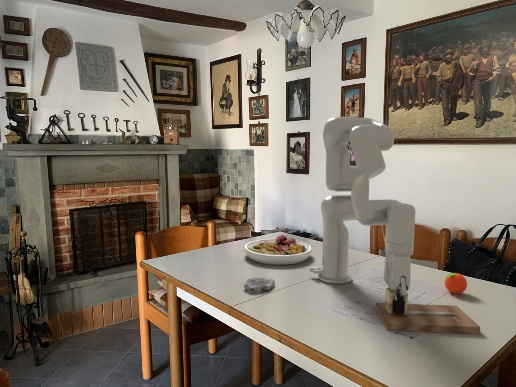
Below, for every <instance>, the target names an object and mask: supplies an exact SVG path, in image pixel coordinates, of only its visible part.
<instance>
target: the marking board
mask: <svg viewBox="0 0 516 387" xmlns="http://www.w3.org/2000/svg"><path fill="white" fill-rule="evenodd" d="M375 311H376V313H377V314H378V316H379V318H380V320H381V321H382V323H383V325H384V327H385V329H386V330H387V331H389V332H390V331H395V332H397V331H399V332H417V333H418V332H419V333H420V332H421V333H439V334H440V333H443V334H447V333H448V334H466V335H471V334H472V335H480V333H481V326H479V324H478V323H476V321H474V320H473V319H472V318H471V317H470V316H469V315H468V314H467V313H465V312H464V310H462V309H461V308H460V307H459V306H458V305H448V304H447V305H446V304H445V305H444V304H421V303H419V304H417V303H407V314H389V313H388V312H387V310H386V309H385V302H375Z"/></svg>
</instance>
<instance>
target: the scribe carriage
mask: <svg viewBox="0 0 516 387" xmlns="http://www.w3.org/2000/svg"><path fill="white" fill-rule="evenodd" d="M397 289H400V287H399V288H397ZM398 293H400V292H398V291H397V295H398ZM393 299H394V290H391V289H390V288H389V287H385V300H384V303H385V309H386V310H387V312H388V313H389V314H393V312H392V306H393ZM408 299H409V292H407V296H406V297H405V311H404V314H407V304H408V303H409V302H408Z"/></svg>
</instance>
